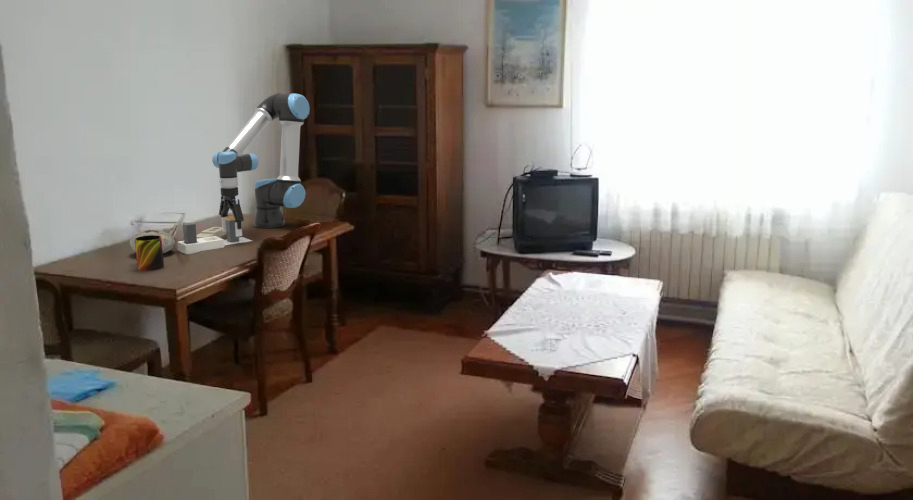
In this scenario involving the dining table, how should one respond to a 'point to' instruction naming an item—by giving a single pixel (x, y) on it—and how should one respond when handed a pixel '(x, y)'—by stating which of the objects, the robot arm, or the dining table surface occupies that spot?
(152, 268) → the mug
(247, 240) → the tray
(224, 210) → the robot arm
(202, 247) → the socket strip
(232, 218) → the plug
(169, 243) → the grey stone
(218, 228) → the electrical outlet
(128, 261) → the dining table surface
